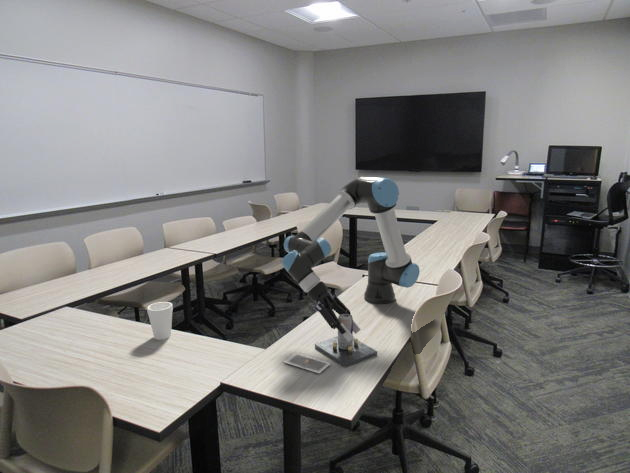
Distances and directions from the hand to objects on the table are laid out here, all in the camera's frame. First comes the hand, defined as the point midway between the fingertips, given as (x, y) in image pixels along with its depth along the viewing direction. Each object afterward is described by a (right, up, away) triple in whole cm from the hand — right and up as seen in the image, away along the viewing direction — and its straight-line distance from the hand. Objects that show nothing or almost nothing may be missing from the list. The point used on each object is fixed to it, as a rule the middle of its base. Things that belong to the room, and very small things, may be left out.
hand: (354, 335), depth 151 cm
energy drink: (-3, -5, +3) cm, 7 cm away
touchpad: (-17, -9, -6) cm, 20 cm away
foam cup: (-76, -5, +17) cm, 78 cm away
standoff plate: (-3, -7, +3) cm, 8 cm away
